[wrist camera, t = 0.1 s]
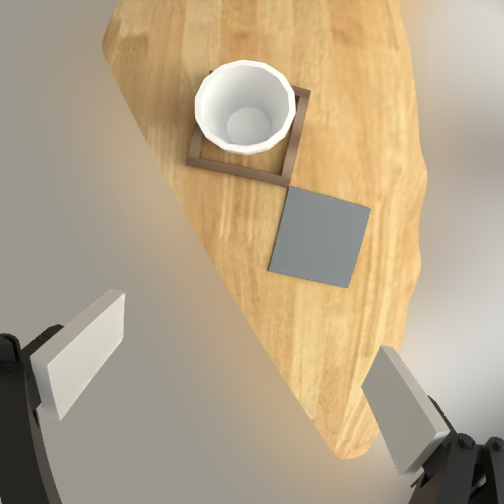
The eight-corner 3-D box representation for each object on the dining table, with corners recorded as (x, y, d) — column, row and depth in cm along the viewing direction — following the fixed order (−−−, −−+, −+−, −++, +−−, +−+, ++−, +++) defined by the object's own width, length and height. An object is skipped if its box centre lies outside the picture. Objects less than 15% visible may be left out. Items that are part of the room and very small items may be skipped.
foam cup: (224, 170, 39) (207, 164, 26) (206, 107, 37) (184, 77, 24) (292, 151, 38) (308, 137, 25) (273, 89, 36) (280, 51, 23)
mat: (289, 186, 39) (289, 186, 39) (370, 208, 39) (370, 208, 39) (268, 270, 42) (268, 271, 41) (347, 287, 42) (347, 288, 42)
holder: (212, 76, 36) (210, 70, 33) (307, 95, 36) (310, 90, 34) (190, 166, 39) (185, 165, 36) (286, 187, 39) (288, 187, 37)
